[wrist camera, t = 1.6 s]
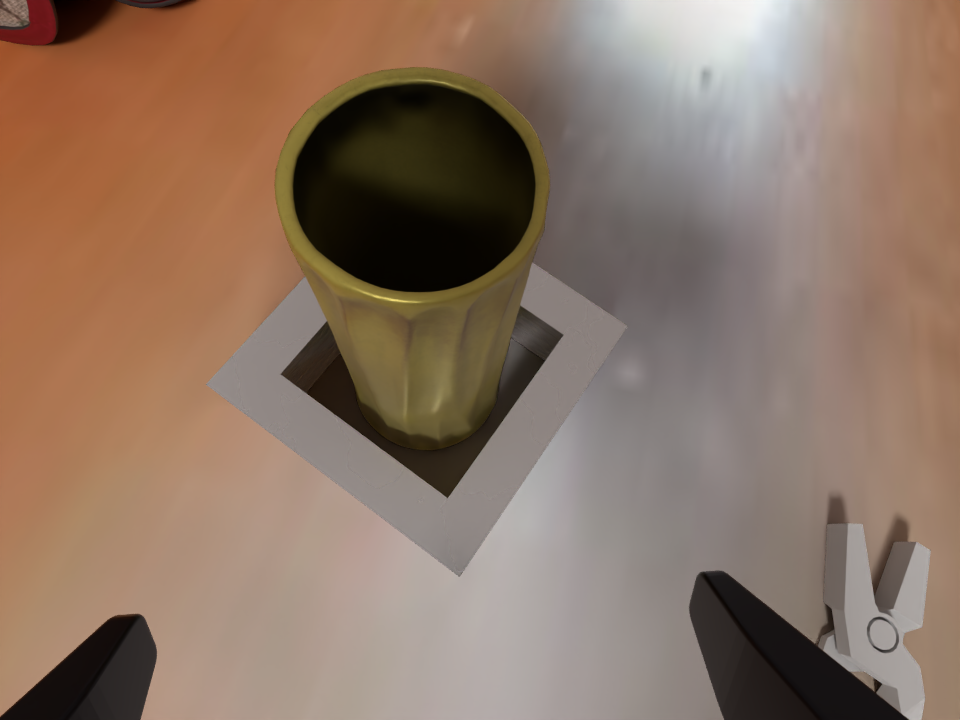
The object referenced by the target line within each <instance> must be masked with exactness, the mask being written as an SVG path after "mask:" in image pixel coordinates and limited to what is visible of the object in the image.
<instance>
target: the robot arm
mask: <svg viewBox="0 0 960 720" xmlns="http://www.w3.org/2000/svg"><path fill="white" fill-rule="evenodd" d="M689 611H690V618H691V621H692V624H693V627H694V630H695V633H696V637H697V640H698V643H699V646H700V649H701V652H702V655H703V658H704V661H705V664H706V668H707V671H708V674H709V677H710V680H711V683H712V686H713V689H714V692H715V695H716V698H717V701H718V704H719V707H720V710H721V713H722V715H723V718H724V720H909V719H908V718H907V717H905V716H904V715H903V714H902V713H900V712H899V711H898V710H897V709H895V708H894V707H893V706H892V705H890V704H889V703H888V702H887V701H885V700H884V699H883V698H882V697H880V696H879V695H878V694H877V693H875V692H874V691H873V690H872V689H870V688H869V687H868V686H867V685H865V684H864V683H863V682H862V681H860V680H859V679H858V678H857V677H855V676H854V675H853V674H852V673H850V672H849V671H848V670H847V669H846V668H844V667H843V666H842V665H841V664H839V663H838V662H837V661H836V660H834V659H833V658H832V657H831V656H829V655H828V654H827V653H826V652H824V651H823V650H822V649H821V648H819V647H818V646H817V645H816V644H814V643H813V642H812V641H811V640H809V639H808V638H807V637H806V636H804V635H803V634H802V633H801V632H799V631H798V630H797V629H796V628H794V627H793V626H792V625H791V624H789V623H788V622H787V621H786V620H784V619H783V618H782V617H781V616H780V615H778V614H777V613H776V612H775V611H773V610H772V609H771V608H770V607H768V606H767V605H766V604H765V603H763V602H762V601H761V600H760V599H758V598H757V597H756V596H755V595H753V594H752V593H751V592H750V591H748V590H747V589H746V588H745V587H743V586H742V585H741V584H740V583H738V582H737V581H736V580H735V579H733V578H732V577H731V576H730V575H728V574H727V573H725V572H723V571H706V572H700V573H699V574H698V575H697V578H696V581H695V585H694V589H693V593H692V596H691V600H690V605H689ZM156 658H157V649H156V645H155V642H154V640H153V637H152V635H151V632H150V630H149V627H148V625H147V622H146V620H145V618H144V617H143V616H142V615H141V614H127V615H117V616H114V617H112V618H110V619H108V620H107V621H106V622H105V623H104V624H103V625H101V626H100V627H99V628H98V629H97V630H96V631H95V632H94V633H93V634H92V635H90V636H89V637H88V638H87V639H86V640H85V641H84V642H83V643H82V644H80V645H79V646H78V647H77V648H76V649H75V650H74V651H73V652H72V653H70V654H69V655H68V656H67V657H66V658H65V659H64V660H63V661H62V662H60V663H59V664H58V665H57V666H56V667H55V668H54V669H53V670H52V671H50V672H49V673H48V674H47V675H46V676H45V677H44V678H43V679H42V680H41V681H39V682H38V683H37V684H36V685H35V686H34V687H33V688H32V689H31V690H29V691H28V692H27V693H26V694H25V695H24V696H23V697H22V698H21V699H19V700H18V701H17V702H16V703H15V704H14V705H13V706H12V707H11V708H9V709H8V710H7V711H6V712H5V713H4V714H3V715H2V716H1V717H0V720H140V719H141V716H142V712H143V708H144V705H145V701H146V697H147V694H148V690H149V686H150V682H151V679H152V675H153V671H154V668H155V664H156Z"/></svg>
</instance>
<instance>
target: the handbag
mask: <svg viewBox="0 0 960 720" xmlns="http://www.w3.org/2000/svg"><path fill="white" fill-rule="evenodd" d="M53 1H55V0H0V40H3V41H7V42H12V43H17V44H25V45H46V44H48V43H51V42H53V41H54V39H55V37H56V35H57V33H58V16H57V12H56V8H55V4H54V2H53ZM116 1H118V2H121V3H124V4H127V5H130V6H134V7H139V8H157V7H163V6H167V5H171V4H174V3H177V2H179V1H182V0H116Z"/></svg>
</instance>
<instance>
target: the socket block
mask: <svg viewBox="0 0 960 720" xmlns="http://www.w3.org/2000/svg"><path fill="white" fill-rule="evenodd" d="M627 327H628V326H627V325H626V324H624V323H623V322H621V321H620V320H618V319H617V318H615V317H614V316H612V315H611V314H609V313H608V312H606V311H605V310H603V309H602V308H600V307H599V306H597V305H596V304H594V303H593V302H591V301H590V300H588V299H587V298H585V297H584V296H582V295H581V294H579V293H578V292H576V291H575V290H573V289H572V288H570V287H569V286H567V285H566V284H564V283H563V282H561V281H560V280H558V279H557V278H555V277H554V276H552V275H551V274H549V273H548V272H546V271H545V270H543V269H542V268H540V267H539V266H537V265H536V264H534V263H533V262H532V265H531V268H530V272H529V277H528V280H527V284H526V287H525V290H524V294H523V297H522V300H521V304H520V307H519V311H518V314H517V318H516V322H515V325H514V329H513V332H512V335H511V338H512V339H514V340H515V341H517V342H518V343H520V344H521V345H523V346H524V347H526V348H527V349H528V350H530V351H531V352H533V353H534V354H536V355H537V356H539V357H540V358H542V359H543V360H544V361H545V362H544V364H543V365H542V366H541V368H540V369H539V371H538V372H537V373H536V375H535V376H534V378H533V379H532V380H531V382H530V383H529V385H528V386H527V387H526V389H525V390H524V392H523V393H522V395H521V396H520V397H519V399H518V400H517V402H516V403H515V404H514V406H513V407H512V409H511V410H510V411H509V413H508V414H507V416H506V417H505V418H504V420H503V421H502V423H501V424H500V426H499V427H498V428H497V430H496V431H495V433H494V434H493V435H492V437H491V438H490V440H489V441H488V442H487V444H486V445H485V447H484V448H483V449H482V451H481V452H480V454H479V455H478V457H477V458H476V459H475V461H474V462H473V464H472V465H471V466H470V468H469V469H468V471H467V472H466V473H465V475H464V476H463V478H462V479H461V480H460V482H459V483H458V485H457V486H456V488H455V489H454V490H453V492H452V493H451V495H450V496H449V497H448V498H447V497H445V496H444V495H443V494H441V493H440V492H439V491H437V490H436V489H435V488H433V487H432V486H431V485H429V484H428V483H426V482H425V481H424V480H422V479H421V478H420V477H418V476H417V475H416V474H414V473H413V472H412V471H410V470H409V469H408V468H406V467H405V466H404V465H402V464H401V463H399V462H398V461H397V460H395V459H394V458H393V457H391V456H390V455H389V454H387V453H386V452H385V451H383V450H382V449H381V448H379V447H378V446H377V445H375V444H374V443H372V442H371V441H370V440H368V439H367V438H366V437H364V436H363V435H362V434H360V433H359V432H358V431H356V430H355V429H354V428H352V427H351V426H350V425H348V424H347V423H345V422H344V421H343V420H341V419H340V418H339V417H337V416H336V415H335V414H333V413H332V412H331V411H329V410H328V409H327V408H325V407H324V406H323V405H321V404H320V403H319V402H317V401H316V400H314V399H313V398H312V397H310V396H309V395H308V394H306V393H307V391H308V390H309V389H310V388H311V387H312V386H313V384H314V383H315V382H316V381H317V380H318V378H319V377H320V376H321V375H322V374H323V373H324V371H325V370H326V369H327V368H328V367H329V366H330V364H331V363H332V362H333V361H334V360H335V358H336V357H337V356H338V355H339V354H340V351H339V348H338V345H337V343H336V340H335V338H334V335H333V333H332V330H331V328H330V326H329V324H328V322H327V320H326V318H325V316H324V314H323V312H322V310H321V307H320V305H319V303H318V301H317V299H316V297H315V295H314V293H313V291H312V289H311V287H310V285H309V283H308V281H307V279H306V277H304V278H303V279H302V280H301V281H300V283H299V284H298V285H297V286H296V287H295V288H294V289H293V290H292V291H291V292H290V293H289V295H288V296H287V297H286V298H285V299H284V300H283V301H282V302H281V303H280V304H279V305H278V307H277V308H276V309H275V310H274V311H273V312H272V313H271V314H270V315H269V316H268V317H267V318H266V320H265V321H264V322H263V323H262V324H261V325H260V326H259V327H258V328H257V329H256V330H255V332H254V333H253V334H252V335H251V336H250V337H249V338H248V339H247V340H246V341H245V342H244V344H243V345H242V346H241V347H240V348H239V349H238V350H237V351H236V352H235V353H234V354H233V356H232V357H231V358H230V359H229V360H228V361H227V362H226V363H225V364H224V365H223V366H222V368H221V369H220V370H219V371H218V372H217V373H216V374H215V375H214V376H213V377H212V378H211V380H210V381H209V382H208V383H207V384H206V385H207V386H209V387H210V388H211V389H213V390H214V391H215V392H217V393H218V394H219V395H221V396H222V397H223V398H224V399H226V400H227V401H228V402H230V403H231V404H232V405H234V406H235V407H236V408H238V409H239V410H240V411H242V412H243V413H244V414H246V415H247V416H248V417H250V418H251V419H252V420H253V421H255V422H256V423H257V424H259V425H260V426H261V427H263V428H264V429H265V430H267V431H268V432H269V433H271V434H272V435H273V436H275V437H276V438H277V439H278V440H280V441H281V442H282V443H284V444H285V445H286V446H288V447H289V448H290V449H292V450H293V451H294V452H296V453H297V454H298V455H300V456H301V457H302V458H304V459H305V460H306V461H307V462H309V463H310V464H311V465H313V466H314V467H315V468H317V469H318V470H319V471H321V472H322V473H323V474H325V475H326V476H327V477H329V478H330V479H331V480H333V481H334V482H335V483H336V484H338V485H339V486H340V487H342V488H343V489H344V490H346V491H347V492H348V493H350V494H351V495H352V496H354V497H355V498H356V499H358V500H359V501H360V502H362V503H363V504H364V505H365V506H367V507H368V508H369V509H371V510H372V511H373V512H375V513H376V514H377V515H379V516H380V517H381V518H383V519H384V520H385V521H387V522H388V523H389V524H391V525H392V526H393V527H394V528H396V529H397V530H398V531H400V532H401V533H402V534H404V535H405V536H406V537H408V538H409V539H410V540H412V541H413V542H414V543H416V544H417V545H418V546H420V547H421V548H422V549H423V550H425V551H426V552H427V553H429V554H430V555H431V556H433V557H434V558H435V559H437V560H438V561H439V562H441V563H442V564H443V565H445V566H446V567H447V568H448V569H450V570H451V571H452V572H454V573H455V574H456V575H458V576H459V577H460V576H461V574H462V573H463V571H464V570H465V568H466V567H467V565H468V564H469V562H470V561H471V559H472V558H473V556H474V555H475V553H476V552H477V550H478V549H479V547H480V546H481V544H482V543H483V541H484V540H485V538H486V537H487V535H488V534H489V532H490V531H491V529H492V528H493V526H494V525H495V523H496V522H497V520H498V519H499V517H500V516H501V514H502V513H503V511H504V510H505V508H506V507H507V505H508V504H509V502H510V501H511V500H512V498H513V497H514V495H515V494H516V492H517V491H518V489H519V488H520V486H521V485H522V483H523V482H524V480H525V479H526V477H527V476H528V474H529V473H530V471H531V470H532V468H533V467H534V465H535V464H536V462H537V461H538V459H539V458H540V456H541V455H542V453H543V452H544V450H545V449H546V447H547V446H548V444H549V443H550V441H551V440H552V438H553V437H554V435H555V434H556V432H557V431H558V429H559V428H560V427H561V425H562V424H563V422H564V421H565V419H566V418H567V416H568V415H569V413H570V412H571V410H572V409H573V407H574V406H575V404H576V403H577V401H578V400H579V398H580V397H581V395H582V394H583V392H584V391H585V389H586V388H587V386H588V385H589V383H590V382H591V380H592V379H593V377H594V376H595V374H596V373H597V371H598V370H599V368H600V367H601V365H602V364H603V362H604V361H605V359H606V358H607V356H608V355H609V353H610V352H611V351H612V349H613V348H614V346H615V345H616V343H617V342H618V340H619V339H620V337H621V336H622V334H623V333H624V331H625V330H626V328H627Z"/></svg>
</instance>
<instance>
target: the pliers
mask: <svg viewBox="0 0 960 720" xmlns="http://www.w3.org/2000/svg"><path fill="white" fill-rule="evenodd" d="M930 552H931V550H929V549H927V548H926V547H924V546H923V545H921V544H919V543H918V542H894V544H893V546H892V549H891V552H890V555H889V558H888V560H887V563H886V566H885V569H884V571H883V574H882V577H881V580H880V583H879V585H878V588H877V591H876V594H875V596H874V593H873V587H872V580H871V574H870V568H869V561H868V555H867V549H866V543H865V536H864V530H863V524H851V523H844V524H827V537H826V557H825V576H824V596H823V602H824V603H825V604H827V605H828V606H829V607H830V608H832V613H833V621H834V628H835V629H834V630H832V631H830V632H828V633H826V634H825V635H823V636H821V638H820V641H819V644H818V647H819V648H821V649H822V650H823V651H824V652H826V653H827V654H828V655H829V656H831V657H832V658H833V659H834V660H836V661H837V662H838V663H839V664H841V665H842V666H843V667H844V668H846V669H847V670H848V671H849V672H852V671H865V672H866V673H868V674H869V675H870V676H872V677H873V678H875V679H876V680H878V681H879V682H881V683H882V685H881V687H880V688H879V690H878V691H877V694H878V695H879V696H880V697H882V698H883V699H884V700H885V701H887V702H888V703H889V704H890V705H892V706H893V707H894V708H895V709H897V710H898V711H899V712H900V713H902V714H903V715H904V716H905V717H907V718H908V719H909V720H922V714H923V707H924V701H925V694H924V688H923V682H922V675H921V669H920V666H919V665H918V664H917V662H916V661H915V660H914V658H913V657H912V656H911V654H910V653H909V652H908V650H907V649H906V648H905V646H904V645H903V637H904V634H905V633H906V632H909V631H912V630H915V629H918V628H921V627H922V625H923V616H924V607H925V598H926V589H927V579H928V570H929V561H930Z"/></svg>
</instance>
